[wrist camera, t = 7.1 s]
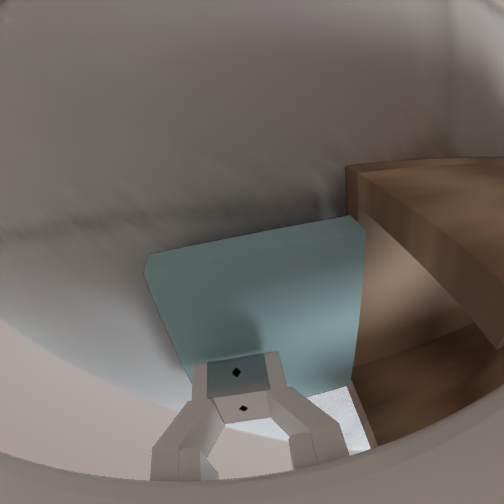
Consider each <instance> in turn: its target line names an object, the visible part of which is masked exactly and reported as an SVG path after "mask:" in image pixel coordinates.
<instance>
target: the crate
mask: <svg viewBox="0 0 504 504" xmlns="http://www.w3.org/2000/svg"><path fill="white" fill-rule="evenodd" d="M346 187H347V216H352V217H353V218H354V219H355V220H356V221H357V222H358V223H359V224H360V225H361V226H362V227H363V228H364V229H366V238H365V258H364V273H363V286H362V298H361V308H360V317H359V326H358V334H357V341H356V349H355V355H354V362H353V368H352V374H351V380H350V385H347V388H348V391H349V393H350V396H351V398H352V401H353V403H354V406H355V408H356V411H357V413H358V416H359V418H360V421H361V424H362V426H363V429H364V431H365V434H366V437H367V439H368V442H369V444H370V447H371V449H372V448H375V447H378V446H381V445H383V444H386V443H389V442H391V441H394V440H397V439H399V438H402V437H404V436H407V435H409V434H411V433H414V432H416V431H418V430H421V429H423V428H425V427H427V426H429V425H431V424H434V423H436V422H438V421H440V420H442V419H444V418H446V417H448V416H450V415H452V414H453V413H455V412H457V411H459V410H461V409H463V408H465V407H466V406H468V405H470V404H472V403H473V402H475V401H477V400H478V399H480V398H482V397H483V396H485V395H487V394H488V393H490V392H491V391H493V390H495V389H496V388H498V387H499V386H501V385H502V384H504V157H464V158H438V159H420V160H405V161H392V162H381V163H370V164H360V165H351V166H346Z"/></svg>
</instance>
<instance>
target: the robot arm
mask: <svg viewBox="0 0 504 504" xmlns="http://www.w3.org/2000/svg"><path fill="white" fill-rule="evenodd" d="M265 364H266V365H265ZM269 417H271V418H272V419H273V420H274V421H275V422H276V423H277V424H278V425H279V426H280V427H281V428H282V429H283V430H284V431H285V432H286V433H287V434H288V435H289V436H290V438H289V446H290V455H291V463H292V469H293V470H289V471H284V472H279V473H272V474H266V475H259V476H252V477H243V478H233V479H221V480H219V476H218V472H217V471H216V470H215V468H214V467H213V466H212V465H211V464H210V462H209V461H208V460H207V457H208V455H209V453H210V452H211V450H212V448H213V446H214V444H215V443H216V441H217V439H218V437H219V435H220V433H221V431H222V430H223V428H224V426H225V425H224V424H228V423H235V422H241V421H247V420H255V419H263V418H269ZM0 504H504V384H502V385H501V386H499V387H498V388H496V389H495V390H493V391H491V392H490V393H488V394H487V395H485V396H483V397H482V398H480V399H478V400H477V401H475V402H473V403H472V404H470V405H468V406H466V407H465V408H463V409H461V410H459V411H457V412H455V413H453V414H452V415H450V416H448V417H446V418H444V419H442V420H440V421H438V422H436V423H434V424H431V425H429V426H427V427H425V428H423V429H421V430H418V431H416V432H414V433H411V434H409V435H407V436H404V437H402V438H399V439H397V440H394V441H391V442H389V443H386V444H383V445H381V446H378V447H375V448H372V449H369V450H366V451H363V452H360V453H357V454H354V455H349V452H348V449H347V446H346V443H345V440H344V437H343V434H342V431H341V428H340V425H339V423H338V422H337V421H336V420H334V419H333V418H332V417H330V416H329V415H328V414H326V413H325V412H324V411H322V410H321V409H320V408H318V407H317V406H316V405H315V404H313V403H312V402H311V401H309V400H308V399H307V398H306V397H304V396H303V395H302V394H301V393H299V392H298V391H297V390H296V389H294V388H293V387H292V386H289V387H287V384H286V380H285V376H284V372H283V367H282V363H281V359H280V355H279V352H278V350H276V351H271V352H266V353H264V354H263V353H259V354H254V355H248V356H243V357H237V358H233V359H225V360H217V361H208V362H201V363H194V365H193V375H192V401H188V402H187V403H186V404H185V406H184V407H183V408H182V410H181V411H180V412H179V414H178V415H177V416H176V418H175V419H174V420H173V422H172V423H171V424H170V426H169V427H168V428H167V429H166V431H165V432H164V433H163V435H162V436H161V437H160V439H159V440H158V441H157V442H156V444H155V445H154V446H153V447H152V460H151V474H150V480H134V479H123V478H112V477H105V476H98V475H91V474H84V473H78V472H74V471H68V470H64V469H59V468H55V467H51V466H46V465H43V464H39V463H35V462H31V461H28V460H24V459H21V458H18V457H15V456H12V455H9V454H6V453H3V452H0Z"/></svg>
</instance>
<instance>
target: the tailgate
mask: <svg viewBox="0 0 504 504" xmlns="http://www.w3.org/2000/svg"><path fill="white" fill-rule="evenodd" d="M365 238H366V229H364V228H363V227H362V226H361V225H360V224H359V223H358V222H357V221H356V220H355V219H354V218H353V217H352V216H344V217H338V218H333V219H327V220H322V221H316V222H311V223H306V224H300V225H295V226H290V227H284V228H279V229H274V230H269V231H263V232H258V233H253V234H248V235H243V236H238V237H232V238H227V239H222V240H217V241H212V242H207V243H202V244H197V245H193V246H188V247H183V248H178V249H173V250H168V251H163V252H159V253H154V254H149V256H148V259H147V262H146V265H145V268H144V272H143V275H144V278H145V281H146V283H147V286H148V288H149V291H150V293H151V296H152V298H153V301H154V303H155V305H156V308H157V310H158V313H159V315H160V317H161V320H162V322H163V324H164V326H165V329H166V331H167V333H168V335H169V338H170V340H171V342H172V344H173V346H174V348H175V351H176V353H177V355H178V357H179V359H180V361H181V363H182V365H183V367H184V369H185V371H186V373H187V375H188V377H189V379H190V381H191V383H192V375H193V365H194V363H201V362H208V361H217V360H225V359H233V358H237V357H243V356H248V355H254V354H259V353H263V354H264V353H266V352H271V351H276V350H278V352H279V355H280V359H281V363H282V367H283V372H284V376H285V380H286V384H287V387H289V386H292V387H293V388H294V389H296V390H297V391H298V392H299V393H301V394H302V395H303V396H304V397H309V396H313V395H316V394H320V393H324V392H327V391H331V390H334V389H338V388H341V387H344V386H347V385H350V380H351V374H352V368H353V362H354V355H355V349H356V341H357V334H358V326H359V317H360V308H361V298H362V286H363V273H364V258H365ZM265 365H266V364H265Z"/></svg>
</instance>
